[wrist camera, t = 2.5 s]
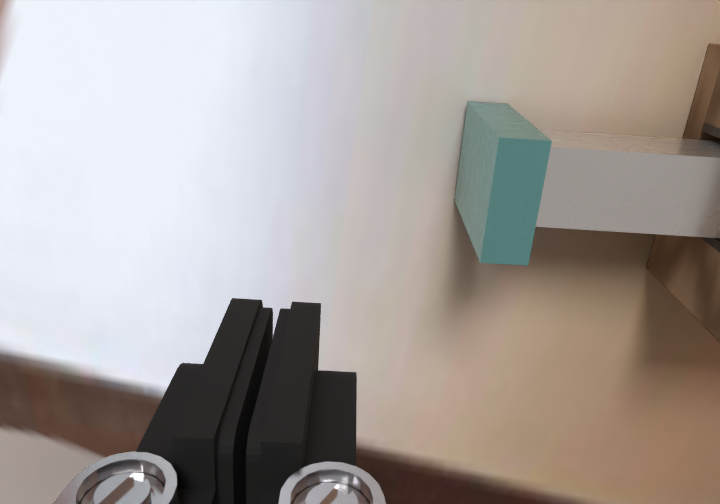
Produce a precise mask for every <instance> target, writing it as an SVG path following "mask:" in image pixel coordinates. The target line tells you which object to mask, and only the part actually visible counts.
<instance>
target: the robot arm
mask: <svg viewBox="0 0 720 504" xmlns="http://www.w3.org/2000/svg"><path fill="white" fill-rule="evenodd" d="M320 314H321V303H305V302H292V305H291V309H280V312H279V316H278V320H277V324H276V328H275V332H274V335H273V311H272V308H263V305H262V300H252V299H235V298H232V300H231V302H230V304H229V306H228V309H227V311H226V313H225V315H224V318H223V320H222V322H221V325H220V327H219V329H218V332H217V334H216V336H215V339H214V341H213V343H212V345H211V348H210V350H209V352H208V355H207V357H206V359H205V362H204V364H191V363H182V364H180V366H179V367H178V369H177V370H176V372H175V374H174V376H173V378H172V380H171V382H170V384H169V386H168V388H167V390H166V392H165V394H164V396H163V398H162V400H161V402H160V404H159V406H158V408H157V410H156V412H155V414H154V416H153V418H152V420H151V422H150V424H149V426H148V428H147V430H146V432H145V434H144V436H143V438H142V440H141V442H140V444H139V446H138V448H137V450H136V452H126V453H120V454H114V455H112V456H109V457H106V458H103V459H100V460H98V461H96V462H95V463H93V464H91V465H90V466H88V467H86V468H84V469H83V470H82V471H81V472H80V473H79V474H78V475H77V476H76V477H75V478H74V479H73V480H72V481H71V482H70V483H69V484H68V486H67V487H66V488H65V489H64V490H63V492H62V493H61V494H60V495H59V497H58V498H57V499H56V500H55V501H54V503H53V504H386V502H385V498H384V495H383V492H382V490H381V488H380V486H379V484H378V483H377V482H376V481H375V479H374V478H373V477H372V476H371V475H370V474H369V473H367V472H365V471H363V470H362V469H360V468H358V467H356V382H357V377H356V372H338V371H319V370H318V358H319V336H320ZM272 337H273V339H272Z"/></svg>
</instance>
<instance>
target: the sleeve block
mask: <svg viewBox="0 0 720 504" xmlns="http://www.w3.org/2000/svg"><path fill="white" fill-rule="evenodd" d="M683 139H697V140H712V141H720V44H709V46H708V49H707V53H706V57H705V60H704V64H703V67H702V71H701V74H700V78H699V82H698V85H697V89H696V92H695V96H694V100H693V103H692V107H691V110H690V114H689V117H688V121H687V125H686V128H685V132H684V135H683ZM647 269H648V270H649V271H650V272H651V273H652V274H653V275H654V276H655V277H656V278H657V279H658V280H659V281H660V282H661V283H662V284H663V285H664V286H665V287H666V288H667V289H668V290H669V292H670V293H671V294H672V295H673V296H674V297H675V298H676V299H677V300H678V301H679V302H680V303H681V304H682V305H683V306H684V307H685V308H686V309H687V310H688V311H689V312H690V313H691V314H692V315H693V316H694V317H695V318H696V319H697V320H698V321H699V322H700V323H701V324H702V325H703V326H704V327H705V328H706V329H707V330H708V331H709V332H710V333H711V334H712V335H713V336H714V337H715V338H716V339H717V340H718V341H719V342H720V238H708V237H692V236H676V235H660V234H656V236H655V239H654V243H653V246H652V250H651V253H650V257H649V261H648V264H647Z"/></svg>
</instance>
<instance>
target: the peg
mask: <svg viewBox="0 0 720 504" xmlns="http://www.w3.org/2000/svg"><path fill="white" fill-rule="evenodd" d="M455 202H456V205H457V207H458V210H459V212H460V215H461V217H462V220H463V222H464V225H465V227H466V230H467V232H468V235H469V237H470V240H471V242H472V245H473V247H474V250H475V252H476V255H477V257H478V259H479V262H480V263H493V264H509V265H526V266H528V264H529V259H530V254H531V248H532V243H533V238H534V233H535V227H548V228H564V229H580V230H596V231H612V232H628V233H644V234H660V235H676V236H692V237H708V238H720V141H712V140H697V139H681V138H666V137H650V136H634V135H619V134H603V133H588V132H572V131H557V130H541V129H537V128H536V127H535V126H534V125H532V124H531V123H530V122H529V121H528V120H526V119H525V118H524V117H523V116H522V115H520V114H519V113H518V112H517V111H516V110H514V109H513V108H512V107H511V106H510V105H508V104H505V103H490V102H474V101H467V108H466V116H465V124H464V131H463V139H462V147H461V154H460V162H459V170H458V177H457V185H456V192H455Z"/></svg>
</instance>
